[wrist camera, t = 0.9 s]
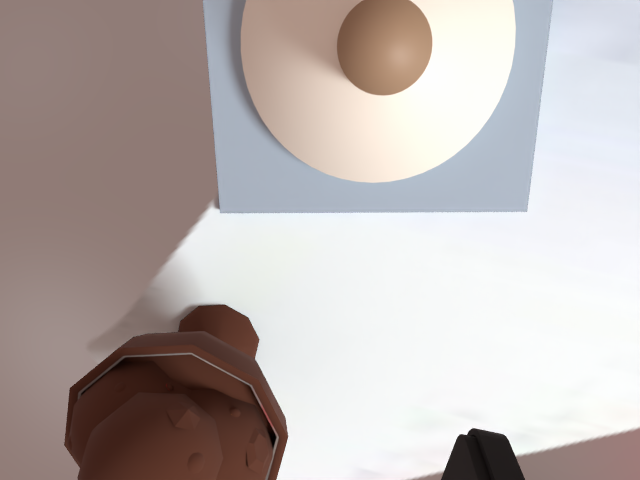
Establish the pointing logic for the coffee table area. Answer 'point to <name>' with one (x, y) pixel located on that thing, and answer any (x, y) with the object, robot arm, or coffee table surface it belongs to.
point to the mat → (396, 196)
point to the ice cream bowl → (179, 407)
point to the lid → (376, 79)
